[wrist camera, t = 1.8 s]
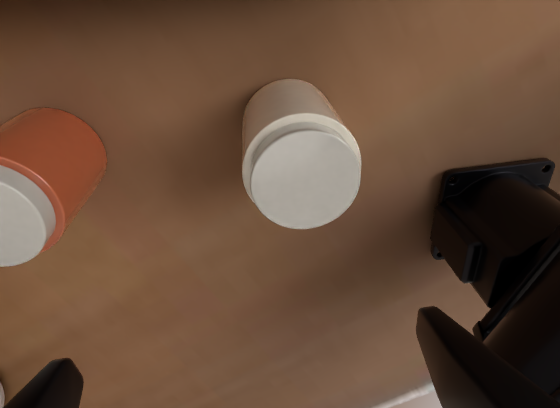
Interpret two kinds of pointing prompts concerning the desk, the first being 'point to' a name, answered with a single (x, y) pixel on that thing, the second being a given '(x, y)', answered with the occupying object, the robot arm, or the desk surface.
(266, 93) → the white lidded jar
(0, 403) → the cylinder vase
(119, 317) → the desk surface
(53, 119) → the orange lidded jar
